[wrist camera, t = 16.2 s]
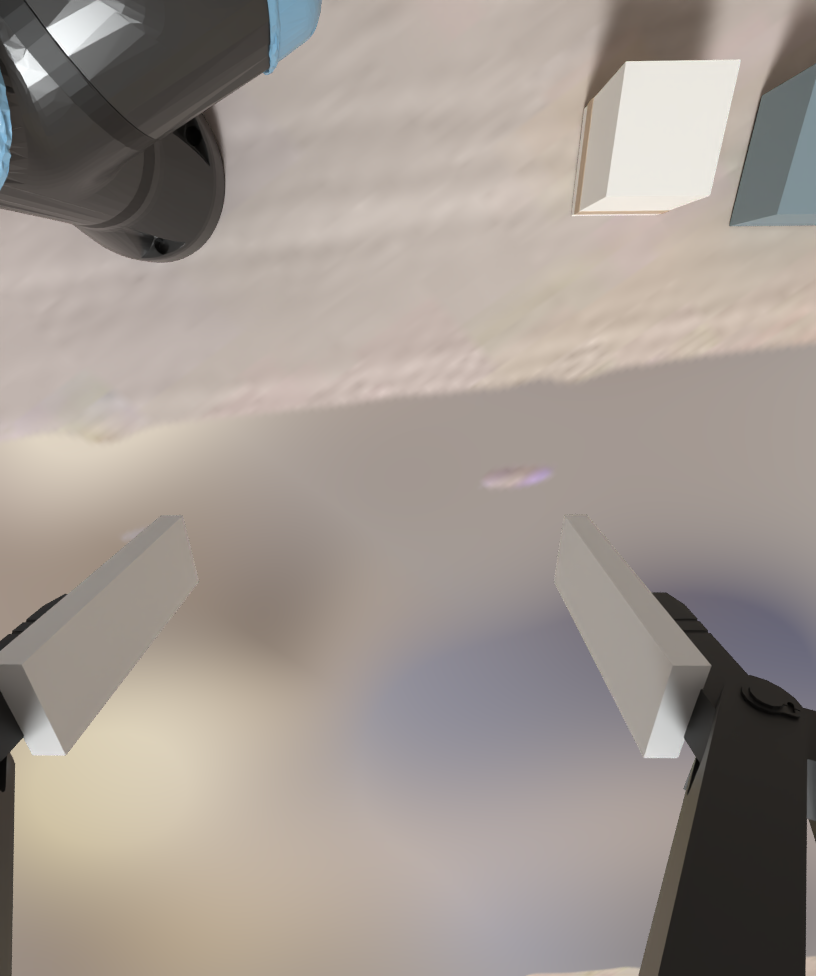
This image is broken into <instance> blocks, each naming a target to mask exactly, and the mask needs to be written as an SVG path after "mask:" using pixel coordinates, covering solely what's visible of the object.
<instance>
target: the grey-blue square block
mask: <svg viewBox="0 0 816 976" xmlns="http://www.w3.org/2000/svg"><path fill="white" fill-rule="evenodd" d="M802 225H816V64H814V65H813V66H811V67H809V68H808V69H806V70H804V71H803V72H801V73H799V74H798V75H796V76H794V77H793V78H791V79H789V80H788V81H786V82H784V83H783V84H781V85H779V86H777V87H776V88H774V89H772V90H771V91H769V92H767V93H766V94H764V95H762V98H761V102H760V106H759V110H758V114H757V118H756V122H755V126H754V130H753V134H752V138H751V142H750V146H749V150H748V154H747V158H746V162H745V166H744V170H743V174H742V178H741V182H740V186H739V190H738V193H737V197H736V201H735V205H734V209H733V213H732V217H731V221H730V225H729V226H802Z"/></svg>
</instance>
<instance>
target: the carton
mask: <svg viewBox="0 0 816 976" xmlns="http://www.w3.org/2000/svg"><path fill="white" fill-rule="evenodd" d="M740 62H741V60H679V61H626V62H625V63H624V64H623V65H622V67H621V68H620V69H619V70H618V71H617V72H616V73H615V75H614V76H613V77H612V78H611V79H610V80H609V81H608V82H607V84H606V85H605V86H604V87H603V88H602V89H601V90H600V92H599V93H598V94H597V95H596V96H595V97H593V98H592V99H591V100H590V102H589V103H588V105H587V106H586V107H585V109H584V114H583V122H582V131H581V139H580V147H579V155H578V163H577V171H576V180H575V188H574V196H573V204H572V212H571V216H619V215H658V214H663V213H665V212H668V211H669V210H671V209H674V208H677V207H680V206H682V205H685V204H688V203H691V202H693V201H696V200H699V199H702V198H704V197H707V196H710V193H711V189H712V184H713V180H714V176H715V171H716V167H717V163H718V158H719V154H720V150H721V145H722V141H723V136H724V132H725V128H726V123H727V119H728V115H729V110H730V106H731V102H732V97H733V93H734V88H735V84H736V80H737V75H738V71H739V67H740Z"/></svg>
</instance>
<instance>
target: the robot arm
mask: <svg viewBox="0 0 816 976" xmlns="http://www.w3.org/2000/svg"><path fill="white" fill-rule="evenodd" d="M321 4H322V0H0V208H1V209H6V210H11V211H15V212H20V213H25V214H29V215H34V216H38V217H43V218H47V219H52V220H56V221H61V222H65V223H69V224H73V225H74V226H75V227H77V228H78V229H79V230H81V231H82V232H83V233H85V234H86V235H87V236H89V237H90V238H91V239H93V240H94V241H96V242H97V243H98V244H100V245H102V246H103V247H105V248H107V249H109V250H110V251H113V252H115V253H117V254H119V255H122V256H125V257H128V258H131V259H136V260H142V261H148V262H157V263H164V262H172V261H177V260H180V259H183V258H185V257H187V256H189V255H191V254H193V253H194V252H196V251H197V250H198V249H199V248H201V247H202V246H203V245H204V244H205V243H206V241H207V240H208V239H209V238H210V236H211V235H212V233H213V231H214V230H215V228H216V225H217V223H218V221H219V218H220V215H221V211H222V207H223V201H224V190H225V183H224V171H223V165H222V160H221V155H220V152H219V149H218V145H217V143H216V140H215V137H214V135H213V133H212V131H211V129H210V127H209V125H208V123H207V121H206V119H205V118H204V116H203V115H202V112H204V111H205V110H207V109H208V108H210V107H211V106H213V105H214V104H216V103H217V102H219V101H220V100H222V99H223V98H225V97H226V96H228V95H229V94H231V93H232V92H234V91H236V90H237V89H239V88H240V87H242V86H243V85H245V84H246V83H248V82H249V81H251V80H252V79H254V78H255V77H257V76H258V75H260V74H261V73H264V74H265V75H269V74H270V73H272V72H273V70H274V69H275V68H276V66H277V64H278V62H279V61H280V60H282V59H283V58H284V57H286V56H287V55H288V54H290V53H291V52H292V51H294V50H295V49H297V48H298V47H299V46H301V45H302V44H303V43H305V42H306V41H307V40H308V39H309V38H310V37H311V36H312V34H313V33H314V31H315V29H316V27H317V23H318V19H319V16H320V12H321ZM198 582H199V580H198V576H197V572H196V568H195V563H194V559H193V555H192V551H191V547H190V543H189V539H188V535H187V530H186V526H185V522H184V518H183V516H160V517H159V518H158V519H156V520H155V521H154V522H153V523H152V524H150V525H149V526H148V527H147V528H146V529H144V530H143V531H142V532H141V533H140V534H138V535H137V536H136V537H135V538H134V539H133V540H131V541H130V542H129V543H128V544H127V545H125V546H124V547H123V548H122V549H121V550H120V551H118V552H117V553H116V554H115V555H114V556H112V557H111V558H110V559H109V560H108V561H106V563H104V564H103V565H102V566H101V567H99V568H98V569H97V570H96V571H95V572H93V573H92V574H91V575H90V576H89V577H87V578H86V579H85V580H84V581H83V582H82V583H80V584H79V585H78V586H77V587H76V588H74V589H73V590H72V591H71V592H70V593H69V594H64V595H62V596H60V597H59V598H57V599H55V600H53V601H51V602H50V603H48V604H46V605H44V606H43V607H42V608H40V609H39V610H38V611H36V612H35V613H34V614H33V615H31V616H30V617H29V618H28V619H27V620H26V622H25V623H22V624H21V625H19V626H18V627H17V628H16V629H14V630H13V631H12V634H9V635H7V636H6V637H5V638H3V639H2V640H1V641H0V976H11V974H12V914H13V912H12V911H13V854H14V852H13V850H14V792H15V791H14V789H15V763H14V760H13V757H12V756H11V754H10V751H11V750H12V749H13V748H14V747H15V746H16V744H17V743H18V742H19V741H20V740H21V739H22V738H24V740H25V742H26V744H27V745H28V747H29V749H30V751H31V753H32V755H66V754H67V753H68V752H69V751H70V749H71V748H72V747H73V745H74V744H75V743H76V741H77V740H78V739H79V738H80V736H81V735H82V733H83V732H84V731H85V730H86V728H87V727H88V726H89V725H90V723H91V722H92V721H93V719H94V718H95V717H96V715H97V714H98V713H99V712H100V710H101V709H102V708H103V706H104V705H105V704H106V702H107V701H108V700H109V698H110V697H111V696H112V694H113V693H114V692H115V691H116V689H117V688H118V686H119V685H120V684H121V683H122V682H123V680H124V679H125V678H126V676H127V675H128V674H129V672H130V671H131V670H132V668H133V667H134V666H135V664H136V663H137V662H138V661H139V659H140V658H141V657H142V655H143V654H144V653H145V652H146V650H147V649H148V648H149V646H150V645H151V644H152V642H153V641H154V640H155V639H156V637H157V636H158V635H159V633H160V632H161V631H162V629H163V628H164V627H165V625H166V624H167V623H168V621H169V620H170V619H171V618H172V616H173V615H174V614H175V612H176V611H177V610H178V609H179V607H180V606H181V605H182V603H183V602H184V601H185V599H186V598H187V597H188V595H189V594H190V593H191V592H192V590H193V589H194V588H195V586H196V585H197V584H198ZM554 582H555V584H556V587H557V588H558V590H559V592H560V594H561V596H562V598H563V600H564V602H565V604H566V606H567V608H568V610H569V612H570V614H571V616H572V618H573V620H574V622H575V624H576V626H577V628H578V630H579V632H580V634H581V635H582V638H583V639H584V641H585V644H586V645H587V647H588V649H589V651H590V653H591V655H592V657H593V659H594V661H595V663H596V665H597V667H598V669H599V671H600V673H601V675H602V677H603V679H604V681H605V683H606V684H607V687H608V689H609V691H610V692H611V695H612V697H613V699H614V701H615V703H616V705H617V706H618V708H619V710H620V712H621V714H622V716H623V718H624V720H625V722H626V724H627V726H628V728H629V730H630V732H631V734H632V736H633V738H634V740H635V742H636V744H637V746H638V748H639V750H640V751H641V754H642V756H643V758H678V756H679V754H680V751H681V748H682V745H683V743H684V740H686V742H687V743H688V745H689V746H690V748H691V750H692V751H693V753H694V755H695V756H696V758H695V760H694V763H693V765H692V768H691V770H690V773H689V776H688V778H687V781H686V783H685V786H684V789H685V790H686V792H685V797H684V800H683V804H682V808H681V812H680V816H679V820H678V823H677V828H676V831H675V835H674V839H673V843H672V847H671V851H670V855H669V859H668V863H667V866H666V870H665V874H664V878H663V882H662V886H661V890H660V894H659V898H658V902H657V906H656V910H655V914H654V918H653V921H652V926H651V929H650V933H649V937H648V941H647V945H646V949H645V953H644V956H643V960H642V964H641V968H640V972H639V976H805V962H806V954H805V953H806V950H805V949H806V848H807V847H806V845H807V841H806V840H807V819H809V822H810V825H811V828H812V831H813V835H814V838H815V841H816V711H813V710H809V709H806V708H803V707H802V706H801V705H800V704H799V702H798V701H797V700H796V699H795V698H794V697H792V696H791V695H790V694H789V693H787V692H786V691H785V690H783V689H782V688H781V687H779V686H777V685H775V684H773V683H771V682H769V681H767V680H764V679H761V678H758V677H755V676H751V675H748V674H747V673H746V672H745V671H744V670H743V669H742V668H741V667H740V665H739V664H738V663H737V662H736V661H735V660H734V659H733V658H732V657H731V655H730V654H729V653H728V652H727V651H726V650H725V649H724V648H723V647H722V646H721V644H720V643H719V642H718V641H717V640H716V639H715V638H714V637H713V636H712V634H711V633H708V630H707V629H706V628H705V627H704V626H703V624H701V622H699V621H697V618H696V617H695V616H694V615H693V613H691V611H690V610H689V609H688V608H687V607H686V606H685V605H684V604H683V603H681V602H680V601H678V600H676V599H675V598H674V597H672V596H671V595H669V594H668V593H651V592H650V591H649V589H648V588H647V587H646V586H645V584H644V583H643V582H642V581H641V580H640V578H639V577H638V576H637V575H636V574H635V572H634V571H633V570H632V569H631V568H630V566H629V565H628V564H627V563H626V561H625V560H624V559H623V558H622V557H621V555H620V554H619V553H618V552H617V551H616V549H615V548H614V547H613V546H612V545H611V543H610V542H609V541H608V540H607V538H606V537H605V536H604V535H603V534H602V533H601V532H600V530H599V529H598V528H597V526H596V525H595V524H594V523H593V521H591V519H590V518H589V517H588V515H564V520H563V526H562V533H561V539H560V546H559V552H558V559H557V565H556V572H555V578H554Z"/></svg>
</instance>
